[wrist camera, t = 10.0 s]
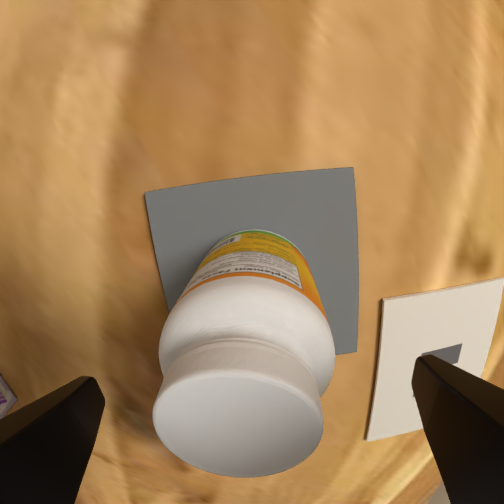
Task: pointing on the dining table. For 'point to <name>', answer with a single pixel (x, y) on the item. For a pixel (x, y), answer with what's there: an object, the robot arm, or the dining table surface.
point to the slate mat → (270, 219)
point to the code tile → (429, 346)
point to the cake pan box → (5, 397)
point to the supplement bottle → (245, 360)
